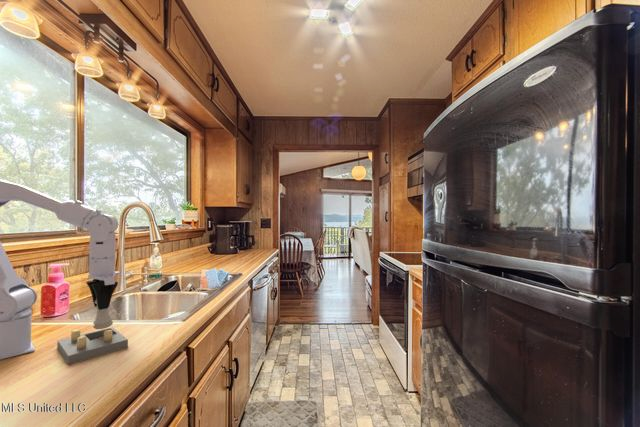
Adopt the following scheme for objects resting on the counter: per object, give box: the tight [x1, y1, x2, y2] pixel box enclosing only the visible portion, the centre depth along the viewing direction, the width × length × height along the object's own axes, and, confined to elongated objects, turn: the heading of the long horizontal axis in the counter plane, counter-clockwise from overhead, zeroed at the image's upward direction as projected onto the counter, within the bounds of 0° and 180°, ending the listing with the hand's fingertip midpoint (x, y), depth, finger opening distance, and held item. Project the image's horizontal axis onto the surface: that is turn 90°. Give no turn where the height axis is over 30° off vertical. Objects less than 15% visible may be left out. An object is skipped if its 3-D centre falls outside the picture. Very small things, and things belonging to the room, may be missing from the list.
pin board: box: [56, 326, 129, 365], centre depth 76 cm, size 13×12×4 cm
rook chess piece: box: [92, 299, 114, 330], centre depth 80 cm, size 4×4×8 cm
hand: (101, 307), depth 79 cm, fingers closed on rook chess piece, 3 cm apart
